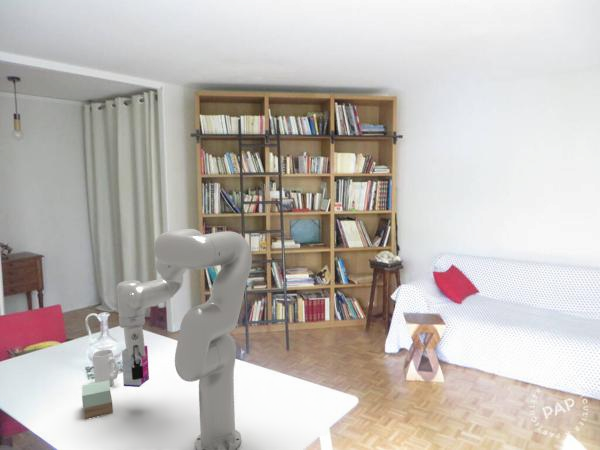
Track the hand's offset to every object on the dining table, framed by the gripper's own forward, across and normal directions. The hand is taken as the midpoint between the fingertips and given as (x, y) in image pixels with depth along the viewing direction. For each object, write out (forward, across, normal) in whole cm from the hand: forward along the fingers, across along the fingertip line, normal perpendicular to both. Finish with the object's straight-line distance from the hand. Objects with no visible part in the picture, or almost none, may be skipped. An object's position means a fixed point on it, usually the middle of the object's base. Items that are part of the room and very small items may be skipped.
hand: (136, 373), depth 138 cm
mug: (+12, +25, +8) cm, 29 cm away
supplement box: (+3, 0, 0) cm, 3 cm away
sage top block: (+9, +7, +12) cm, 16 cm away
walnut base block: (+13, +7, +12) cm, 19 cm away
